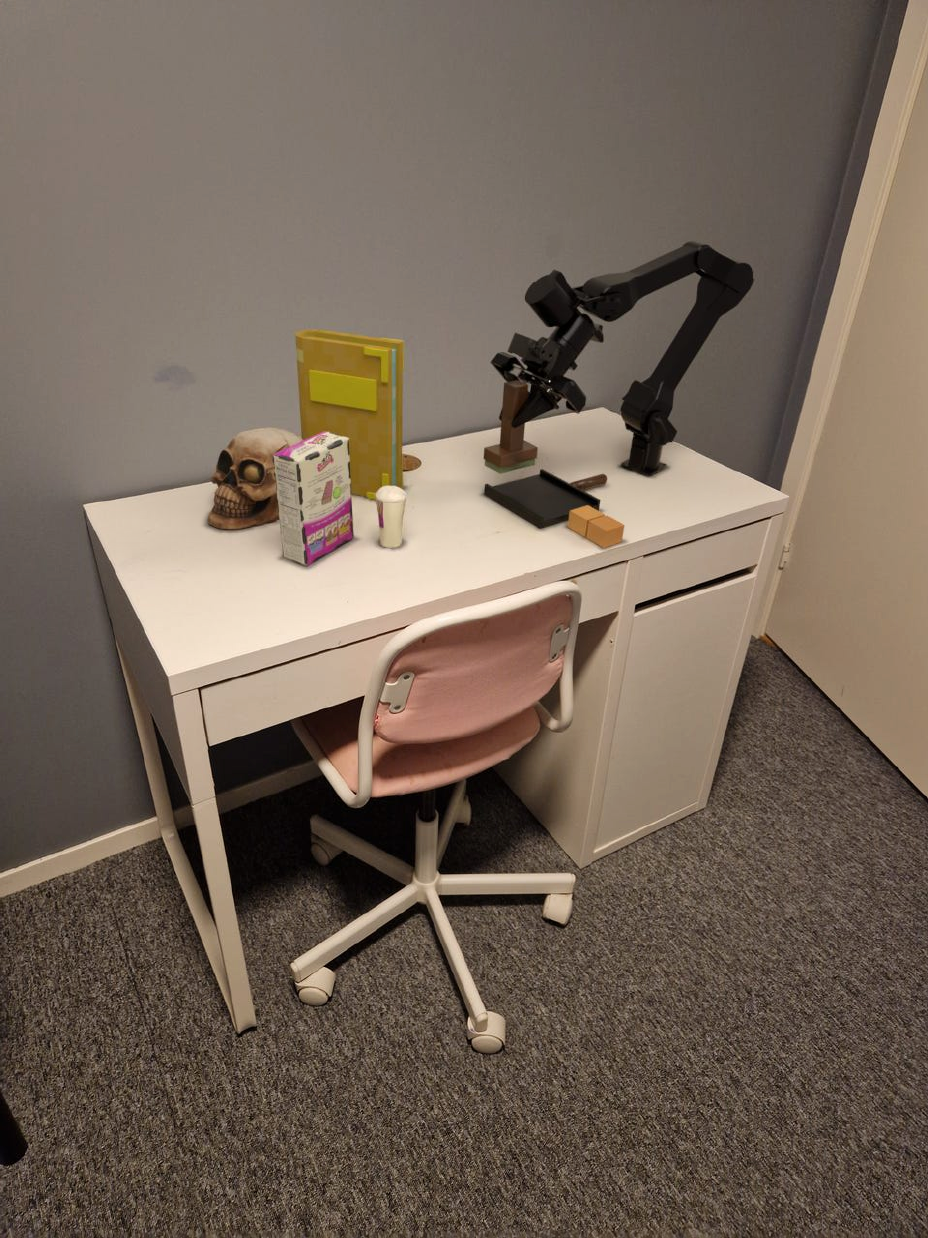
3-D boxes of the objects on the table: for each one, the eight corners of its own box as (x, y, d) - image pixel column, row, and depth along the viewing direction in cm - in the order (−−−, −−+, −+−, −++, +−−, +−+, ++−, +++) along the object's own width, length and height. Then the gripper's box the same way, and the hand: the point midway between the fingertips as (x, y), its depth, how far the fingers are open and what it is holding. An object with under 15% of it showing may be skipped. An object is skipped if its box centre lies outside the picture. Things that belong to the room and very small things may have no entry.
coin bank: (202, 528, 131) (197, 443, 125) (225, 492, 146) (221, 415, 140) (305, 534, 132) (305, 449, 126) (317, 498, 148) (317, 421, 142)
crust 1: (585, 521, 140) (587, 504, 138) (602, 531, 137) (605, 514, 135) (567, 527, 138) (569, 510, 136) (584, 537, 135) (586, 520, 133)
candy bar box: (329, 529, 133) (324, 429, 124) (354, 538, 131) (351, 437, 122) (280, 557, 125) (271, 452, 116) (306, 567, 123) (299, 461, 114)
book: (403, 486, 148) (404, 340, 134) (387, 502, 142) (387, 351, 129) (315, 470, 152) (307, 326, 138) (297, 484, 147) (287, 336, 133)
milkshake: (406, 552, 128) (407, 491, 122) (372, 548, 129) (371, 486, 123) (414, 539, 132) (415, 479, 126) (380, 534, 132) (380, 474, 127)
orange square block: (604, 531, 137) (606, 515, 135) (621, 541, 134) (624, 524, 132) (585, 537, 135) (588, 520, 133) (603, 548, 132) (606, 530, 130)
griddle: (576, 469, 158) (578, 459, 156) (635, 499, 148) (637, 488, 147) (483, 494, 147) (484, 483, 145) (540, 528, 137) (541, 517, 135)
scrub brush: (519, 456, 148) (526, 375, 140) (536, 464, 145) (544, 383, 137) (483, 465, 143) (487, 383, 136) (499, 474, 141) (505, 391, 133)
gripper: (503, 301, 139) (446, 378, 139) (581, 328, 127) (518, 412, 127) (535, 343, 147) (481, 416, 148) (612, 372, 135) (553, 452, 135)
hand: (506, 423), depth 139 cm, fingers closed on scrub brush, 3 cm apart
